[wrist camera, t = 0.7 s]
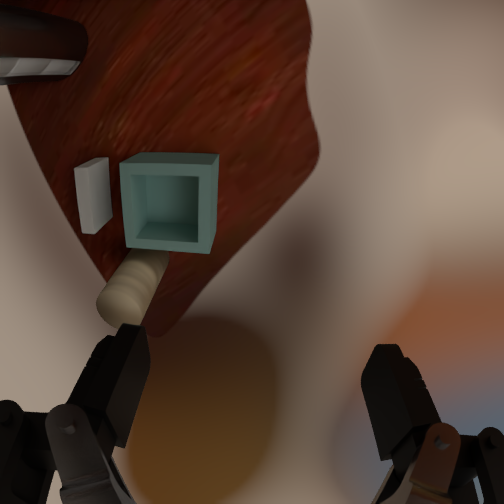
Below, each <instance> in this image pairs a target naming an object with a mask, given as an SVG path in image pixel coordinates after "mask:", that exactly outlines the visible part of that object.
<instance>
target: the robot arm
mask: <svg viewBox="0 0 504 504" xmlns="http://www.w3.org/2000/svg"><path fill="white" fill-rule="evenodd" d="M149 370H150V352H149V347H148V341H147V335H146V329H145V327H144V326H140V325H134V324H128V323H123V324H122V325H121V326H120V328H119V330H118V332H117V334H116V336H111V335H107V336H106V337H105V338H104V339H102V340H101V341H100V342H99V343H98V344H97V345H96V347H95V349H94V351H93V352H92V354H91V358H89V360H88V362H87V364H86V367H84V369H83V371H82V373H81V375H80V377H79V379H78V381H77V383H76V385H75V387H74V389H73V391H72V393H71V395H70V397H69V399H68V401H67V402H66V403H65V404H61V405H58V406H56V407H54V408H53V409H52V410H51V411H50V412H49V413H39V412H24V411H23V410H22V409H21V407H20V406H19V405H18V404H17V403H16V402H14V401H11V400H2V401H0V504H46V501H47V497H48V493H49V489H50V485H51V482H52V479H53V475H54V472H55V470H58V473H59V476H60V479H61V482H62V488H61V489H60V497H61V500H62V503H63V504H136V502H135V501H134V499H133V497H132V496H131V494H130V492H129V490H128V488H127V486H126V484H125V482H124V480H123V478H122V476H121V474H120V472H119V470H118V468H117V466H116V464H115V462H114V460H113V457H112V453H113V449H114V446H118V447H121V448H125V446H126V442H127V439H128V436H129V433H130V429H131V426H132V423H133V420H134V417H135V413H136V410H137V407H138V404H139V401H140V398H141V395H142V391H143V389H144V386H145V383H146V380H147V377H148V374H149ZM361 388H362V392H363V395H364V399H365V402H366V406H367V409H368V413H369V417H370V420H371V424H372V428H373V432H374V435H375V439H376V443H377V447H378V451H379V456H380V459H381V461H384V460H389V459H392V461H393V465H392V467H391V468H390V470H389V471H388V473H387V475H386V477H385V479H384V481H383V483H382V485H381V487H380V489H379V491H378V493H377V494H376V496H375V498H374V499H373V501H372V503H371V504H479V501H478V497H477V493H476V489H475V485H474V482H473V478H475V477H476V476H478V479H479V482H480V486H481V490H482V493H483V497H484V503H483V504H504V435H503V434H502V433H501V432H500V431H499V430H498V429H496V428H494V427H487V428H485V429H483V430H482V431H481V432H480V433H479V434H478V436H471V435H470V436H469V435H459V433H458V431H457V430H456V429H455V428H454V427H453V426H451V425H449V424H447V423H442V422H441V419H440V417H439V415H438V412H437V410H436V408H435V405H434V403H433V401H432V398H431V396H430V394H429V392H428V390H427V389H426V385H425V383H424V380H422V376H421V374H420V372H419V370H418V368H417V366H416V365H415V364H414V363H413V362H412V361H411V360H410V359H409V358H408V357H405V358H404V356H403V354H402V351H401V349H400V347H399V346H398V345H397V344H378V345H376V346H375V348H374V350H373V352H372V354H371V356H370V358H369V360H368V362H367V364H366V367H365V369H364V370H363V373H362V376H361Z"/></svg>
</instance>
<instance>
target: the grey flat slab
mask: <svg viewBox="0 0 504 504" xmlns="http://www.w3.org/2000/svg"><path fill="white" fill-rule="evenodd" d="M74 172H75V183H76V192H77V200H78V208H79V215H80V222H81V228H82V233H88V234H95V233H96V232H97V231H98V230H100V229H101V228H102V227H103V226H104V225H105V224H106V223H107V222H108V221H109V220H110V219H111V218H112V217H113V214H112V204H111V193H110V179H109V162H108V157H104V158H94V159H92V160H90V161H88V162H86V163H84V164H82V165H80V166H78V167H75V168H74Z"/></svg>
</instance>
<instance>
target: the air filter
mask: <svg viewBox="0 0 504 504" xmlns="http://www.w3.org/2000/svg"><path fill="white" fill-rule="evenodd" d="M87 47H88V35H87V31H86V29H85V28H84V26H83V25H82V24H81V23H79V22H78V21H74V20H71V19H67V18H64V17H60V16H56V15H52V14H48V13H44V12H40V11H36V10H31V9H26V8H21V7H16V6H11V5H5V4H0V85H8V84H18V83H30V82H48V81H60V80H63V79H65V78H67V77H68V76H70V75H71V74H72V73H73V72H75V71H76V70H77V68H78V67H79V66H80V64H81V63H82V61H83V59H84V57H85V55H86V51H87Z"/></svg>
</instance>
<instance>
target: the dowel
mask: <svg viewBox="0 0 504 504" xmlns="http://www.w3.org/2000/svg"><path fill="white" fill-rule="evenodd" d="M168 263H169V254H168V251H167V250H154V249H142V248H132V249H131V250H130V252H129V253H128V255H127V256H126V257H125V259H124V260H123V261H122V263H121V264H120V266H119V267H118V268H117V270H116V271H115V273H114V274H113V276H112V277H111V278H110V280H109V281H108V283H107V284H106V286H105V287H104V289H103V290H102V292H101V293H100V295H99V296H98V298H97V301H96V306H97V310H98V312H99V314H100V316H101V317H102V318H103V319H104V321H106V322H107V323H108V324H109V325H111V326H113V327H114V328H117V329H119V328H120V326H121V325H122V324H123V323H128V324H134V325H140V324H141V321H142V319H143V317H144V315H145V312H146V310H147V308H148V306H149V304H150V301H151V299H152V297H153V295H154V293H155V291H156V288H157V286H158V284H159V282H160V280H161V278H162V276H163V274H164V272H165V269H166V267H167V265H168Z"/></svg>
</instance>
